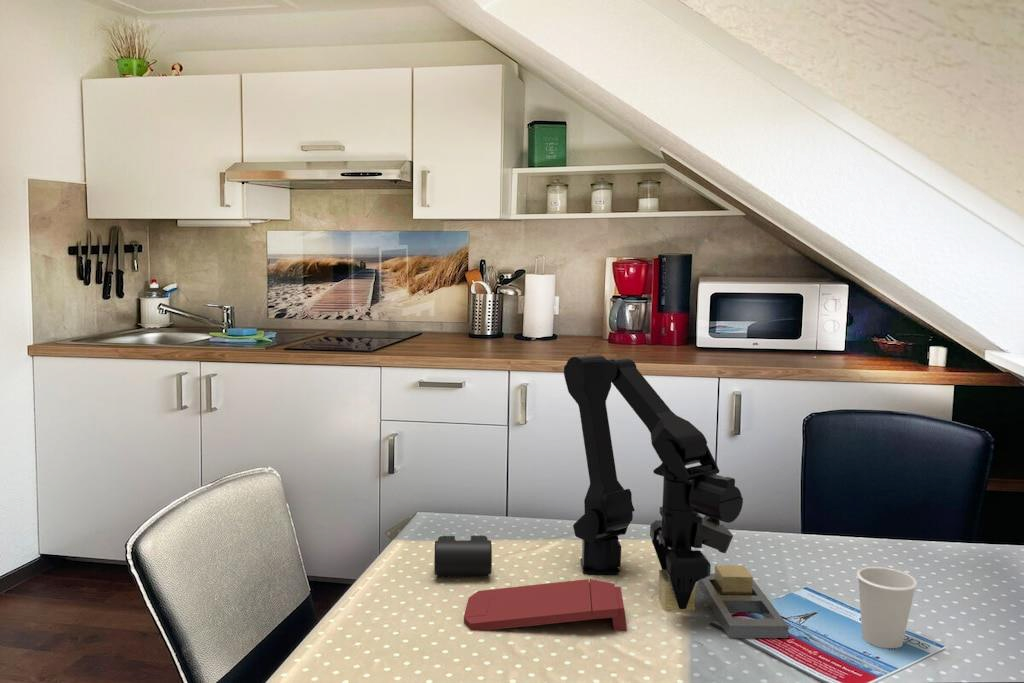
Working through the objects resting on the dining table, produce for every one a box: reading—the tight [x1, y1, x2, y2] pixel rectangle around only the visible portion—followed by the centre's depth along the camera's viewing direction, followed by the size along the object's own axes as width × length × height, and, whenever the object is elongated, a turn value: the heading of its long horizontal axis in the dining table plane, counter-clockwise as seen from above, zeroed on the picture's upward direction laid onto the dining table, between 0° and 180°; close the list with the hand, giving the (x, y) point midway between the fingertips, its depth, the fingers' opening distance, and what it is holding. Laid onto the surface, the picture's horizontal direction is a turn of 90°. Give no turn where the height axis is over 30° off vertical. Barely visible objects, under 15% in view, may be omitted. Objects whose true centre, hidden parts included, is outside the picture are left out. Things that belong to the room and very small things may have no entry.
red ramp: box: [463, 578, 628, 632], centre depth 132 cm, size 12×5×25 cm
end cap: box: [433, 534, 493, 578], centre depth 147 cm, size 10×7×7 cm
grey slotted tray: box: [697, 573, 789, 640], centre depth 135 cm, size 9×20×2 cm, turn 1°
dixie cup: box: [856, 566, 918, 650], centre depth 125 cm, size 8×8×10 cm
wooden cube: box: [657, 569, 697, 612], centre depth 137 cm, size 5×5×5 cm
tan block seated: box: [714, 564, 754, 596], centre depth 139 cm, size 5×5×5 cm
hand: (676, 596), depth 137 cm, fingers open, 9 cm apart
